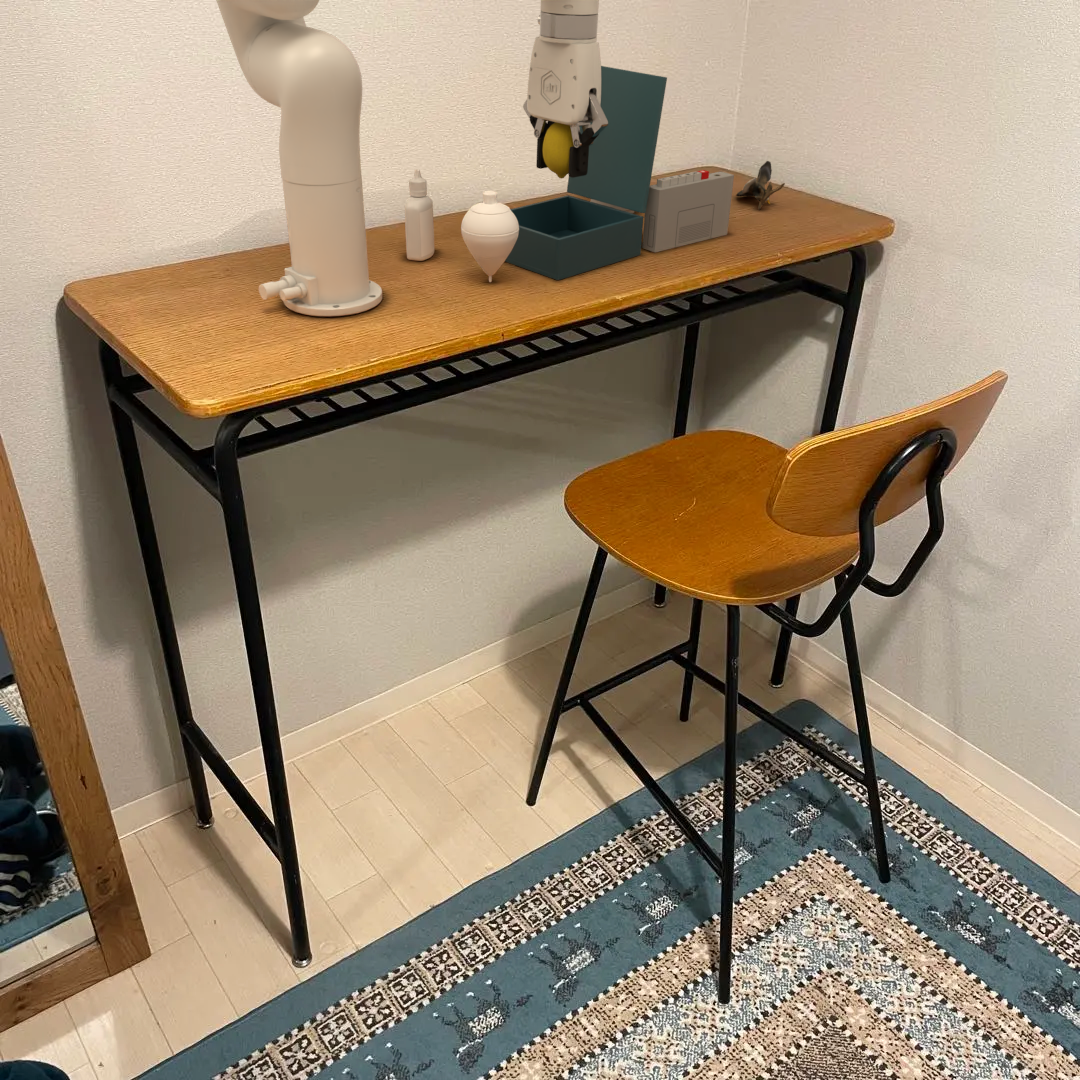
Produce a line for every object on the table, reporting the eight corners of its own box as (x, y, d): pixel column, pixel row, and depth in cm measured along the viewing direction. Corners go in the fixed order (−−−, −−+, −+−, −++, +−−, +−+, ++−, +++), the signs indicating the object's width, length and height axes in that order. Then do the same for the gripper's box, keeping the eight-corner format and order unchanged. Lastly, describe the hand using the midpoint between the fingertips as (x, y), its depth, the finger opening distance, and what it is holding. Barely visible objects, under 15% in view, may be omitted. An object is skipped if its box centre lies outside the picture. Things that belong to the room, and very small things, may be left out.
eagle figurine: (793, 203, 174) (779, 179, 181) (778, 168, 170) (764, 145, 176) (752, 226, 176) (739, 202, 183) (735, 193, 172) (723, 169, 178)
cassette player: (714, 230, 164) (721, 164, 159) (727, 234, 162) (734, 168, 157) (642, 247, 156) (647, 179, 150) (654, 252, 154) (660, 183, 149)
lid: (663, 77, 141) (667, 77, 142) (582, 62, 150) (586, 63, 151) (642, 213, 149) (645, 213, 150) (566, 192, 158) (570, 191, 159)
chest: (557, 280, 143) (559, 239, 140) (484, 254, 152) (483, 215, 149) (640, 254, 153) (643, 216, 150) (567, 231, 162) (568, 194, 159)
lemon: (565, 185, 143) (568, 123, 139) (533, 178, 146) (535, 117, 141) (588, 178, 147) (592, 118, 143) (557, 172, 149) (559, 112, 145)
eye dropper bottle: (445, 255, 151) (443, 169, 144) (415, 263, 148) (411, 176, 141) (426, 248, 154) (423, 163, 147) (396, 256, 150) (391, 170, 144)
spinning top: (508, 294, 138) (508, 202, 131) (453, 287, 139) (451, 196, 133) (525, 276, 144) (526, 187, 137) (473, 270, 146) (472, 182, 139)
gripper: (502, 22, 139) (500, 163, 149) (596, 37, 129) (587, 187, 138) (543, 19, 143) (538, 156, 153) (637, 34, 133) (625, 180, 143)
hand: (561, 170), depth 146 cm, fingers closed on lemon, 5 cm apart
